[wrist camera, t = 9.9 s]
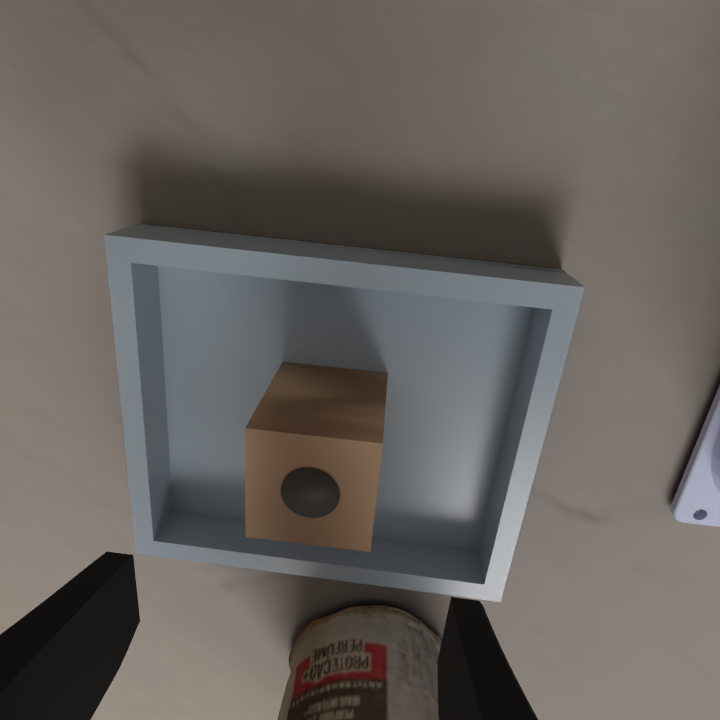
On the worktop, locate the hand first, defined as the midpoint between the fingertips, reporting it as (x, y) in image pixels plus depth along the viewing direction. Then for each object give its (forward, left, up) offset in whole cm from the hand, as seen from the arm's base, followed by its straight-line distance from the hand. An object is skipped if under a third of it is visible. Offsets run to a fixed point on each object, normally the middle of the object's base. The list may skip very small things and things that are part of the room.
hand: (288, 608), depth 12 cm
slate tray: (0, 0, -10) cm, 10 cm away
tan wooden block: (0, 0, -9) cm, 9 cm away
